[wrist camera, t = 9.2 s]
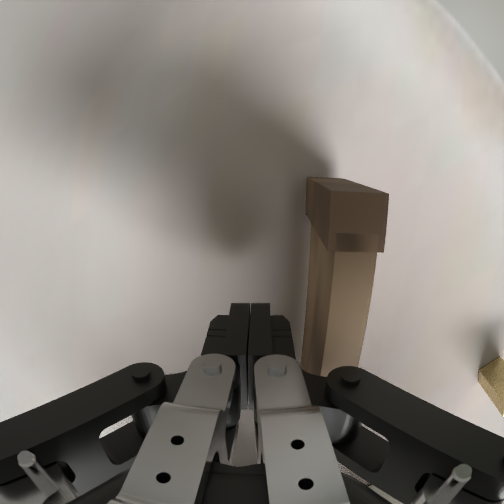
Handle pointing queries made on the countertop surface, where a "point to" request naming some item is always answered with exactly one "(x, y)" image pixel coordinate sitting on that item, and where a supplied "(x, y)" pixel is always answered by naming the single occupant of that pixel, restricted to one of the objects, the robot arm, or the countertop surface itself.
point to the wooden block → (340, 269)
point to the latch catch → (494, 382)
